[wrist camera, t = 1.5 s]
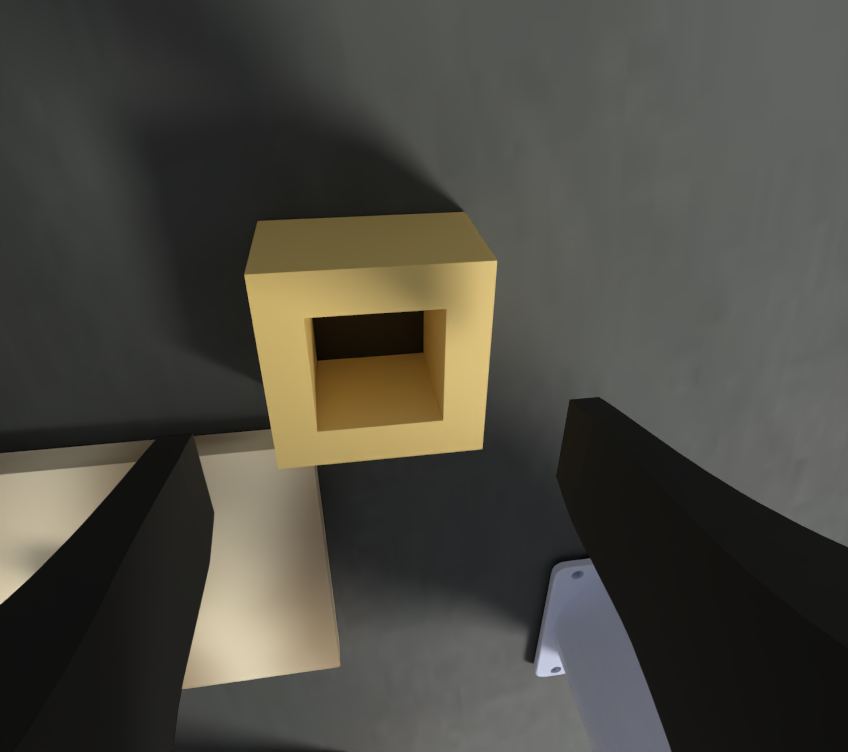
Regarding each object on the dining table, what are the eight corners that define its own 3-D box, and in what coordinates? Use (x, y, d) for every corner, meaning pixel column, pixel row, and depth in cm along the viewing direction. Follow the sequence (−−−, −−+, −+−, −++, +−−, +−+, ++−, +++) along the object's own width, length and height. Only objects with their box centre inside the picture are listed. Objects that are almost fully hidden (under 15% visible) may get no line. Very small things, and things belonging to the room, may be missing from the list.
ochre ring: (464, 211, 16) (497, 260, 13) (457, 379, 19) (482, 449, 16) (257, 220, 15) (244, 274, 12) (284, 393, 18) (278, 468, 15)
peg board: (311, 425, 19) (310, 533, 15) (339, 644, 25) (343, 757, 22) (-104, 462, 17) (-219, 593, 14) (41, 685, 24) (-10, 814, 20)
